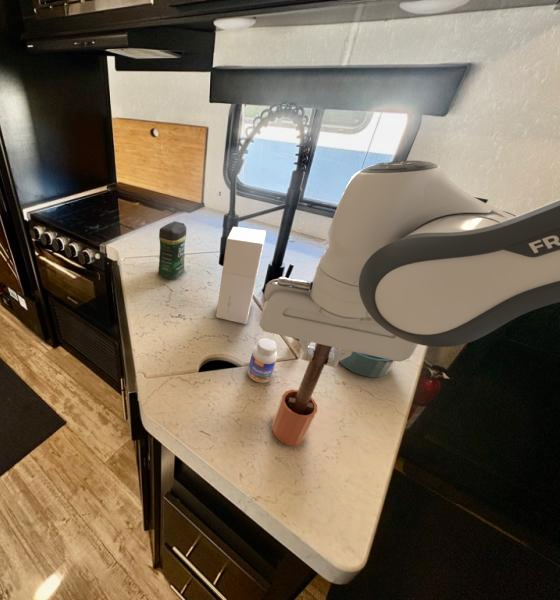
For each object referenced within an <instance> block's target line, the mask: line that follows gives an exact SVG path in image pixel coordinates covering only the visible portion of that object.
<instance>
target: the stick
mask: <svg viewBox="0 0 560 600" xmlns="http://www.w3.org/2000/svg"><path fill="white" fill-rule="evenodd" d="M313 348H314V351H313V352H314V356H313V358H312V361H311V362H310V361H308V364H307V367H306V369H305V372H304V374H303V377H302V380H301V382H300V385H299V387H298V389H297V390H298V393H297V395H296V398H295V399H294V398H291V397H289V400H288V403H287V407H288V408H289V409H290V410H291V411H293V412H295V413H297V414H299V415H309V414H310V413H311V411H312V409H313V404H312V403H309V400H310V398H311V397H312V395H313V394H314V391H315V388H316V386H317V384H318V381H319V379H320V377H321V375H322V372H323V370H324V368H325V366H326V365H325V363H326V361H327V358H328V356H329V354H330V352H332V349H333V347H331V346H327V345H322V344H318V343H315V345H314V347H313Z"/></svg>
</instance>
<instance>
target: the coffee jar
mask: <svg viewBox="0 0 560 600" xmlns="http://www.w3.org/2000/svg"><path fill="white" fill-rule="evenodd" d="M186 239H187V226H186V225H185V223H183V222H180V221H175V220H174V221H172V222H169V223H167V224H165V225H164V226H161V227H160V228H159V233H158V240H159V257H158V259H159V260H158V275H159V277H161V278H163V279H166V280H176V279H178V278H179V277H180V276H182V274H183V273H185V248H186V247H185V245H186Z"/></svg>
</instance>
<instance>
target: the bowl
mask: <svg viewBox="0 0 560 600" xmlns="http://www.w3.org/2000/svg"><path fill="white" fill-rule="evenodd" d="M337 349H339V348H336V347H333V352H334V351H336V350H337ZM395 362H396V361H393V360H389V359H384V358H380V357H376V356H371V355H367V354H362V353H358V352H352V354H351V356H349V357H347V358H345V359H343V360H341V361H339V362H338V363H340V364H341V365H342V366H343V367H344V368H346V369H347V370H349V371H351V372H353V373H355V374H358V375H360V376H363V377H369V378H380V377H383V376H385V375H387V374H388V373H389V372H390V371H391V369H392V367H393V366H394V364H395Z"/></svg>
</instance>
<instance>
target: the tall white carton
mask: <svg viewBox="0 0 560 600" xmlns="http://www.w3.org/2000/svg"><path fill="white" fill-rule="evenodd" d="M266 235H267V231H266V230H261V229H254V228H247V227H240V226H232V228H231V230H230V232H229V234H228V236H227V238H226V242H225V250H224V256H223V266H222V271H221V278H220V284H219V285H220V286H219V293H218V301H217V306H216V307H217V308H216V318H217V319H222V320H227V321H230V322H234V323H235V322H236V323H240V324H243V325H246V324H247V323H248V319H249V314H250V312H251V306H252V301H253V297H254V292H255V287H256V282H257V279H258V274H259V269H260V264H261V258H262V254H263V249H264V244H265V239H266Z"/></svg>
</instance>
